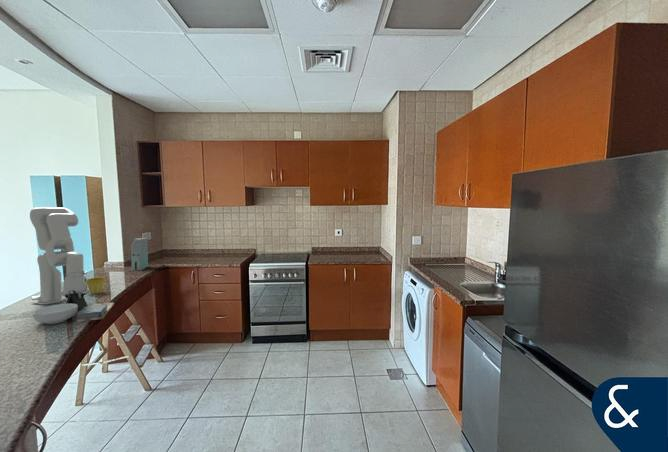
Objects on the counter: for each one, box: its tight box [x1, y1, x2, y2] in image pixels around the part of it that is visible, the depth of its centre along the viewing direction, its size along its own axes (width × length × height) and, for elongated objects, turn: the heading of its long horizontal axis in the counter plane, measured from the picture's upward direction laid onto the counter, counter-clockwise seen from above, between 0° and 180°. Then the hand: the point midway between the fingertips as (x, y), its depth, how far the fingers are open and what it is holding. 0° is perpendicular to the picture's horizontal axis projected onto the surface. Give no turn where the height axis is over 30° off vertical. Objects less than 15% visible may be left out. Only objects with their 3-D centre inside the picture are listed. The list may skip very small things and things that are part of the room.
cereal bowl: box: [32, 303, 78, 325], centre depth 150 cm, size 17×17×7 cm
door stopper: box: [65, 290, 88, 312], centre depth 167 cm, size 9×6×12 cm, turn 95°
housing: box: [76, 305, 107, 321], centre depth 156 cm, size 10×12×3 cm
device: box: [130, 237, 149, 271], centre depth 279 cm, size 16×8×30 cm, turn 12°
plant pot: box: [86, 277, 106, 295], centre depth 200 cm, size 10×10×10 cm
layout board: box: [76, 302, 115, 323], centre depth 164 cm, size 11×26×1 cm, turn 27°
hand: (75, 304), depth 168 cm, fingers closed on door stopper, 2 cm apart
